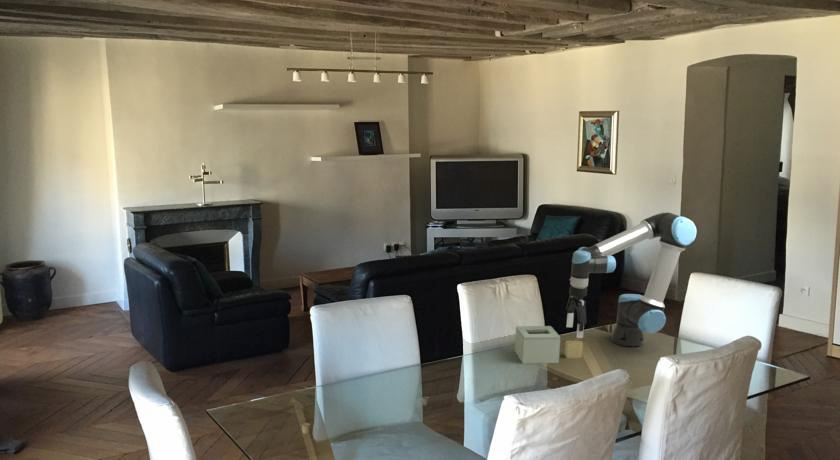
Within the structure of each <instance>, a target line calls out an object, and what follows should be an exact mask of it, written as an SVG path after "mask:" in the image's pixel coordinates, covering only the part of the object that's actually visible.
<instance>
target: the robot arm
mask: <svg viewBox="0 0 840 460" xmlns="http://www.w3.org/2000/svg"><path fill="white" fill-rule="evenodd" d="M696 237H697V227H696V225H695V223H694V222H693V221H692V220H691V219H689V218H687V217H685V216H681V215H678V214H675V213H672V212H661V213H656V214H654V215H651V216H649V217H646V218H645V219H643V220H641V221H640V222H639V224H637V225H634V226H633V227H630V228H628V229H626V230H624V231H621V232H620V233H617V234H615V235H612V236H611V237H609V238H607V239H604V240H602V241H601V242H598V243H596V244H594V245H592V246H589V247H587V246H582V247H581V246H580V247H579V248H578V249H577V250H576V251H574V252H573V254H572V258H571V259H572V260H571V272H570V273H571V274H570V278H569V281H570V282H569V283H570V286H569V298H568V301H567V304H566V306H565V311H566V314H567V315H566V324H565V325H566V326H565V327H566V328H573V326H574V317H575V316H574V315H575V310H576V313H577V320H578V322H577V323H576V324H577V326H576V327H577V328H576V337H575V338H577V339H583V338H584V330H585V329H584V328H585V325H587V324H588V323H587V321H588V320H587V309H586V307H587V305H586V303H587V301H586V300H584V297H587V295H588V286H589V276H590V274H604V273H605V274H608V273H614V271H615V269H616V267H617V261H616V258H615V257H614V256H613V255H615V254H617V253H619V252H621V251H624V250H626V249H627V248H630V247H632V246H634V245H636V244H639V243H641V242H643V241H645V240H647V239H648V240H653V239H655V238H660V239H659V244H660V249H659V252H658V255H657V257H656V258H657V259H656V261H655V263H654V266H653V269H652V271H651V274H650V278H649V280H648V284H647V287H646V290H645V293H644V295H643V294H642V295H641V294H638V293H637V294H636V293H624V294H621V295H619V296H618V300H617V303H618V304H617V312H616V313H617V315H616V322H615V327H614V329H613V331H612V333H611V338H610V340H611V342H613V343H614V344H617V345H618V346H623V347H627V346H633V347H632V348H635V347H634V346H639V347H642V346H644V344H645V336H644V332H645V333H647V334H655V333H657V332H660V331H661V330H662V329H663V327H664V326H665V324H666V321H667V317H666V314H665V313H664V311H665V309H666V306H665V303H664V300H665V297H666V295H667V292H668V289H669V285H670V283H671V280H672V278H673V275H674V272H675V269H676V266H677V263H678V261H679V258H680V255H681V253H682V252H684V251H685V250H686V249H687V246H689V245H690V244H692V243H693V242H694V241H695V239H696Z"/></svg>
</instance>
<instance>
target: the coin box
mask: <svg viewBox="0 0 840 460" xmlns="http://www.w3.org/2000/svg"><path fill="white" fill-rule="evenodd" d="M515 326H516V325H515ZM560 347H561V336H560V335H559V334H558V332H557V331H556V330H555V329H554V327H552V325H538V326H537V325H530V326H529V325H527V326H523V325H522V326H521V325H519V326H516V327H515V343H514V353H515V352H516V353H515V355H516V356H517V355H518V356H517V357H518V359H519V360H520V362H521V363H522V364H523V365H527V364H534V365H535V364H559V362H560V351H561V348H560Z"/></svg>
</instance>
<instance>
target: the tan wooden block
mask: <svg viewBox="0 0 840 460" xmlns="http://www.w3.org/2000/svg"><path fill="white" fill-rule="evenodd" d="M564 344H565V346H564V357H565V359H581V358H582V357H583V348H584V342H583V341H582V340H565V343H564Z"/></svg>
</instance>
